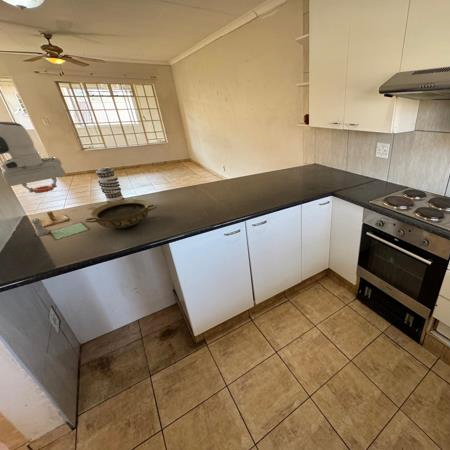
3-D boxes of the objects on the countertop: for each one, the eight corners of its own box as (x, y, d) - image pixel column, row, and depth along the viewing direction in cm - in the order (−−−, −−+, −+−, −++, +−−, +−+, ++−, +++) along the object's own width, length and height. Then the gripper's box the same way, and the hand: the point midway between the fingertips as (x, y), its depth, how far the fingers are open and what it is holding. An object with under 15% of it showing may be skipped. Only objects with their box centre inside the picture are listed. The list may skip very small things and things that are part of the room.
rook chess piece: (46, 231, 121) (38, 216, 118) (51, 233, 120) (43, 218, 116) (35, 235, 118) (26, 220, 114) (39, 237, 116) (30, 222, 112)
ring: (36, 194, 113) (34, 191, 113) (33, 191, 117) (31, 188, 116) (55, 190, 118) (54, 187, 117) (51, 187, 122) (50, 184, 121)
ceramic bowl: (91, 244, 110) (81, 225, 105) (91, 225, 127) (83, 207, 122) (164, 225, 126) (159, 208, 121) (155, 210, 143) (151, 194, 138)
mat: (57, 240, 114) (56, 239, 113) (50, 232, 120) (50, 231, 120) (88, 230, 122) (88, 229, 122) (81, 223, 129) (80, 222, 128)
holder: (43, 228, 124) (38, 217, 122) (39, 222, 130) (34, 212, 127) (68, 221, 131) (64, 211, 129) (63, 216, 137) (59, 206, 134)
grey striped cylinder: (129, 206, 149) (115, 165, 137) (127, 211, 142) (112, 168, 130) (111, 208, 145) (95, 166, 134) (108, 214, 138) (91, 170, 126)
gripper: (56, 155, 120) (69, 182, 126) (-6, 164, 105) (12, 194, 112) (60, 157, 116) (72, 185, 123) (-4, 166, 102) (15, 197, 108)
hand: (43, 189), depth 117 cm, fingers closed on ring, 7 cm apart
